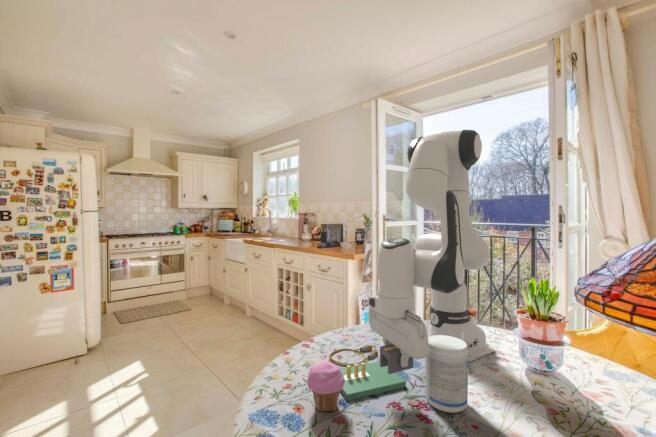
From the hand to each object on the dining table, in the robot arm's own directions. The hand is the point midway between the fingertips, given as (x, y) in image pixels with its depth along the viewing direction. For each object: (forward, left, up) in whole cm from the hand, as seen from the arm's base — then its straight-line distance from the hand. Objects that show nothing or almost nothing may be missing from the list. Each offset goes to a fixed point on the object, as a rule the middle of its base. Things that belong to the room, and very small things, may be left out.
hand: (396, 360), depth 78 cm
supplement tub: (-10, +6, -9) cm, 15 cm away
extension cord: (0, -23, -10) cm, 25 cm away
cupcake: (+18, -3, -9) cm, 20 cm away
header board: (+3, -9, -9) cm, 13 cm away
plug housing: (0, 0, -2) cm, 2 cm away
